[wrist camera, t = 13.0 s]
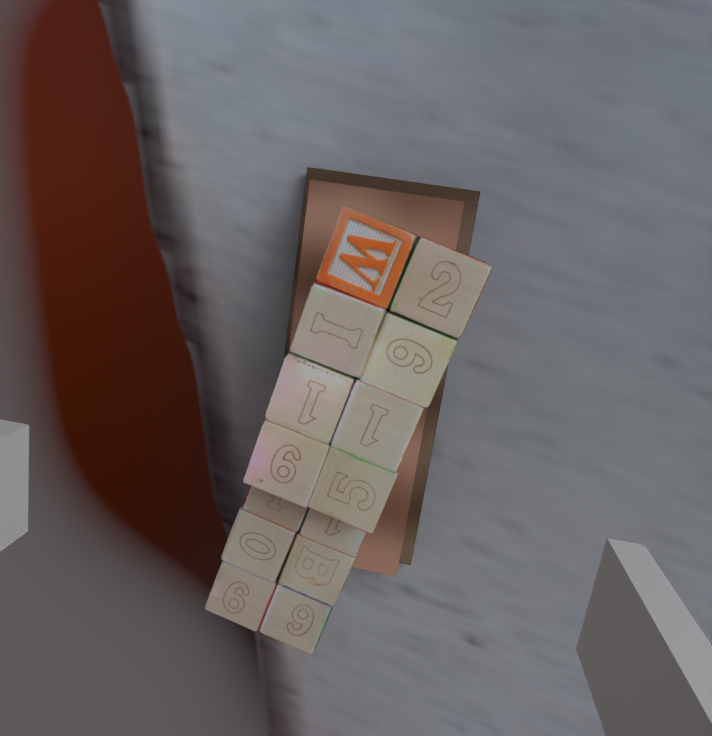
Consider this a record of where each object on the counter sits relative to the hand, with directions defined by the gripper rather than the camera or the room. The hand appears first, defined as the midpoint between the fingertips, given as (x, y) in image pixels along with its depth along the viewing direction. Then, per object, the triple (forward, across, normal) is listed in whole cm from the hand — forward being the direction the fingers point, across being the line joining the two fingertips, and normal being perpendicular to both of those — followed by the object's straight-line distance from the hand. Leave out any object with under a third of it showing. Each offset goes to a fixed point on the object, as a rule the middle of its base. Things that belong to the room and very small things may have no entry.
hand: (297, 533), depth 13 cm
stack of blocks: (+23, -1, -4) cm, 24 cm away
